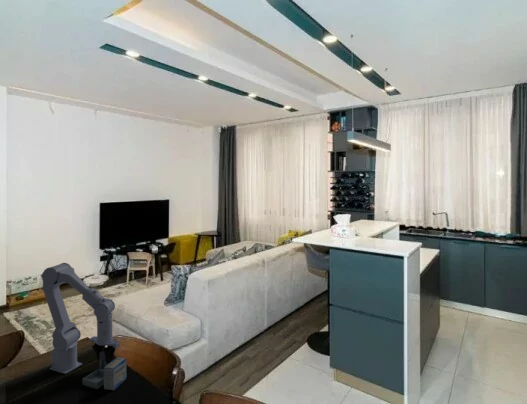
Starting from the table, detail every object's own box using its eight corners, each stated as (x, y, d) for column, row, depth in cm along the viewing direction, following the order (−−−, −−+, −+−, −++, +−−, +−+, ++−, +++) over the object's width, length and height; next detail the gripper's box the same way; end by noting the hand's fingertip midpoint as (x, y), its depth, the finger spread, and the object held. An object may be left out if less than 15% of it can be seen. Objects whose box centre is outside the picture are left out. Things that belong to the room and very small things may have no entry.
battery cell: (97, 367, 135) (97, 349, 134) (105, 362, 138) (105, 345, 138) (104, 369, 133) (104, 351, 133) (112, 364, 137) (112, 347, 137)
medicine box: (113, 391, 122) (113, 368, 121) (103, 389, 123) (103, 367, 122) (126, 379, 129) (126, 357, 129) (116, 377, 130) (116, 356, 130)
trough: (82, 384, 125) (82, 378, 125) (99, 374, 132) (99, 368, 132) (97, 389, 122) (96, 383, 122) (113, 378, 129) (113, 372, 129)
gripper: (125, 329, 136) (125, 360, 137) (100, 323, 142) (100, 353, 142) (111, 335, 130) (112, 369, 130) (85, 329, 135) (86, 361, 136)
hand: (105, 361), depth 136 cm, fingers closed on battery cell, 4 cm apart
